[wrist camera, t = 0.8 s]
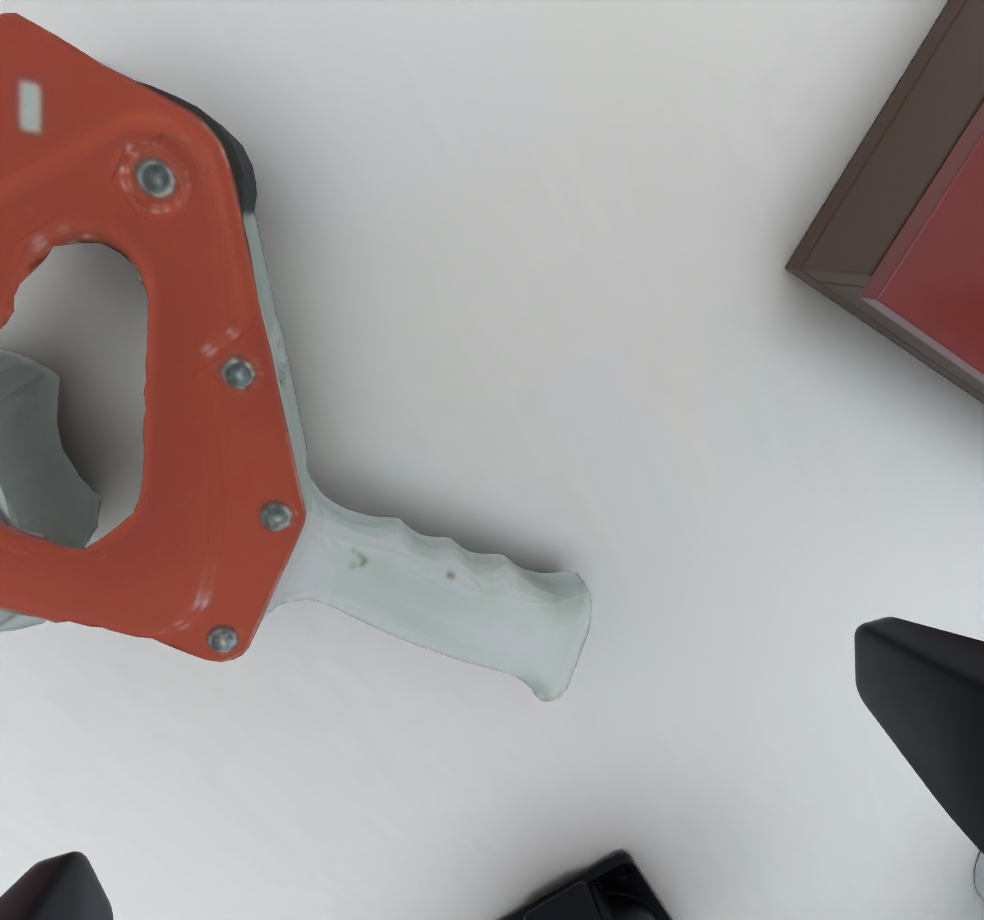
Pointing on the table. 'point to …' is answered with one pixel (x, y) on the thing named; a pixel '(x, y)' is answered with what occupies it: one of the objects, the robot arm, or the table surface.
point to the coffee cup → (980, 875)
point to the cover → (942, 260)
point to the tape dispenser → (205, 409)
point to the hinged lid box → (899, 177)
